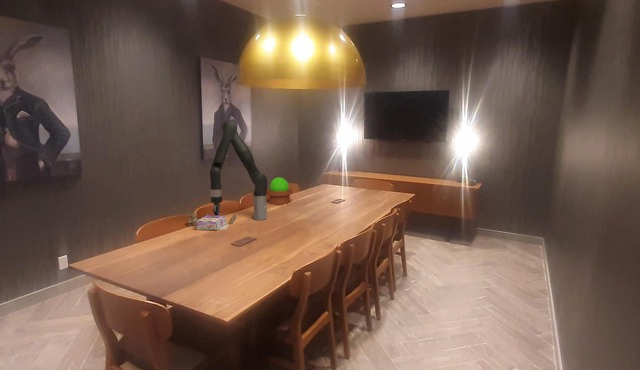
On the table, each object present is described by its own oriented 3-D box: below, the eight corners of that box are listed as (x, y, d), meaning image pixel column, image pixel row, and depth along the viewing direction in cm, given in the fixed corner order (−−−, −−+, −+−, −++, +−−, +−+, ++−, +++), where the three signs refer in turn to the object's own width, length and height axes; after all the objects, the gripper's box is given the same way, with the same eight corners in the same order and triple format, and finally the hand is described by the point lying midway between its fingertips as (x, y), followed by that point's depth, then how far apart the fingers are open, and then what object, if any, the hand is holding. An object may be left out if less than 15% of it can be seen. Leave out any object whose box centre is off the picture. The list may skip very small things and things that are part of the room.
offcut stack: (198, 223, 248) (198, 213, 247) (195, 226, 240) (195, 215, 240) (191, 223, 248) (190, 213, 247) (187, 226, 240) (187, 216, 239)
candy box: (226, 215, 244) (216, 221, 228) (226, 224, 245) (217, 230, 229) (206, 214, 245) (196, 220, 229) (207, 223, 246) (196, 229, 230)
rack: (236, 218, 263) (235, 213, 262) (232, 223, 246) (232, 219, 246) (206, 218, 261) (206, 214, 261) (201, 224, 245) (200, 219, 244)
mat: (229, 225, 243) (229, 224, 243) (225, 229, 231) (225, 229, 231) (202, 225, 242) (202, 225, 242) (197, 230, 230) (197, 229, 230)
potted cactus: (281, 208, 298) (280, 178, 294) (261, 205, 309) (260, 177, 306) (297, 204, 316) (297, 176, 312) (277, 201, 328) (277, 174, 324)
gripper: (219, 197, 239) (220, 222, 242) (223, 193, 252) (224, 217, 255) (208, 197, 239) (209, 222, 241) (213, 194, 252) (214, 218, 255)
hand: (217, 220), depth 248 cm, fingers closed
